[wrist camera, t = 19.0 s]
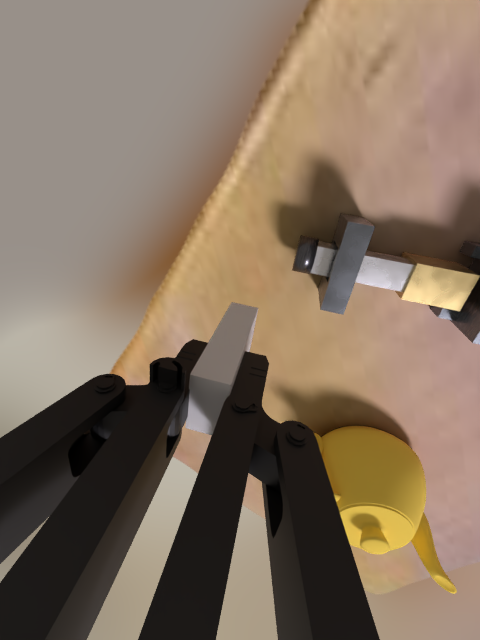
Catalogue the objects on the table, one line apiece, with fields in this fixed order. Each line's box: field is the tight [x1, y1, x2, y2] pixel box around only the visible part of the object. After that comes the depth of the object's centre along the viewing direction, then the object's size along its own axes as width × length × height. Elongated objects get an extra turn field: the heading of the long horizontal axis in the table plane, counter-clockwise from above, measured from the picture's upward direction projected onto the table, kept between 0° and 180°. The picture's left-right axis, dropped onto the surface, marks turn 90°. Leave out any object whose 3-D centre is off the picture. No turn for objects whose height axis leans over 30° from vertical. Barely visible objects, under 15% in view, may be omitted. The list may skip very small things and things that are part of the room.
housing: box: [318, 213, 480, 344], centre depth 31 cm, size 18×9×7 cm, turn 81°
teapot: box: [314, 426, 457, 593], centre depth 43 cm, size 25×18×14 cm
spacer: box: [395, 252, 480, 311], centre depth 32 cm, size 4×6×5 cm, turn 81°
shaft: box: [292, 235, 415, 292], centre depth 32 cm, size 12×4×4 cm, turn 81°
